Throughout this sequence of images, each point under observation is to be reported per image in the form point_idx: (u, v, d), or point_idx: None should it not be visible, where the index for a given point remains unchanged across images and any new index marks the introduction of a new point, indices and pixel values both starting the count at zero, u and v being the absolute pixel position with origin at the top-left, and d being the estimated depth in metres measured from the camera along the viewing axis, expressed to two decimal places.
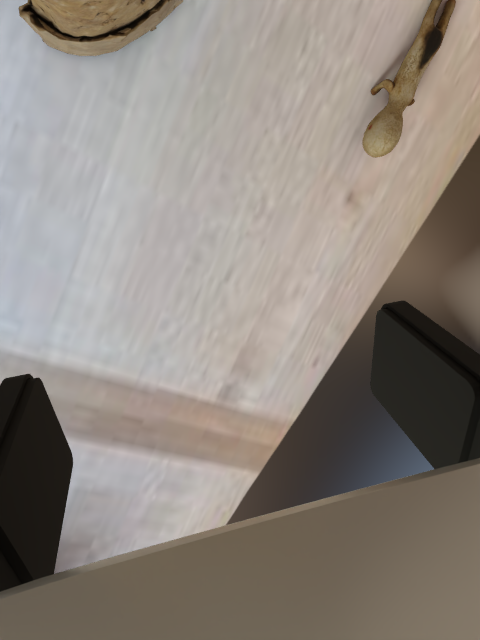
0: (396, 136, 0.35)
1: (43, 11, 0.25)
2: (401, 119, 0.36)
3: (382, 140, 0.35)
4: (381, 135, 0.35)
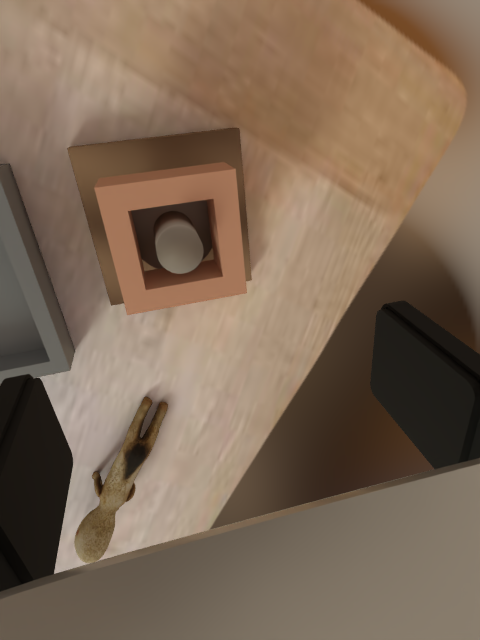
0: (96, 556, 0.33)
1: None
2: (105, 532, 0.33)
3: (82, 558, 0.33)
4: (80, 553, 0.33)
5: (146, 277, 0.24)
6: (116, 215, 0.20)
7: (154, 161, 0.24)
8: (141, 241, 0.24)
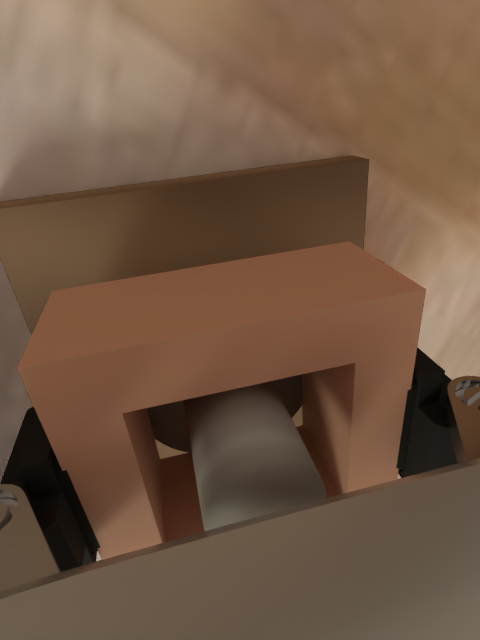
0: None
1: None
2: None
3: None
4: None
5: (165, 489, 0.11)
6: (90, 427, 0.07)
7: (184, 232, 0.11)
8: (154, 408, 0.11)
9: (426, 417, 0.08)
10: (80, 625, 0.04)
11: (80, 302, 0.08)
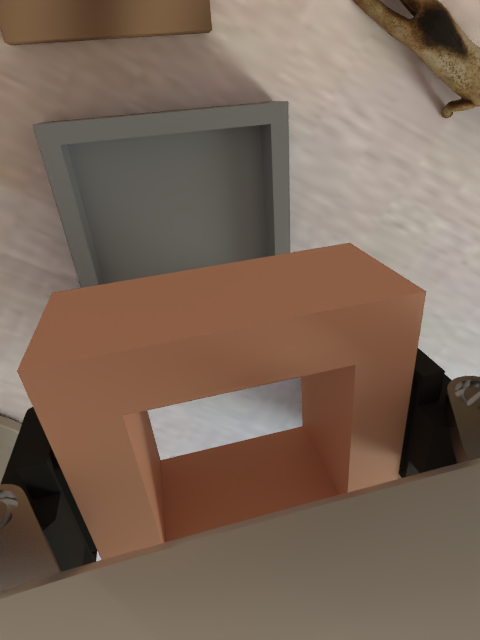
0: None
1: None
2: None
3: None
4: None
5: (166, 491, 0.11)
6: (90, 429, 0.07)
7: None
8: None
9: (426, 417, 0.08)
10: (80, 625, 0.04)
11: (80, 304, 0.08)
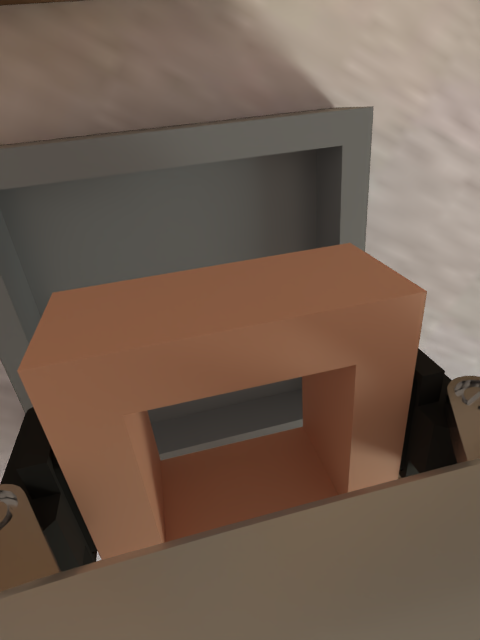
0: None
1: None
2: None
3: None
4: None
5: (166, 491, 0.11)
6: (91, 429, 0.07)
7: None
8: None
9: (426, 417, 0.08)
10: (80, 625, 0.04)
11: (81, 304, 0.08)
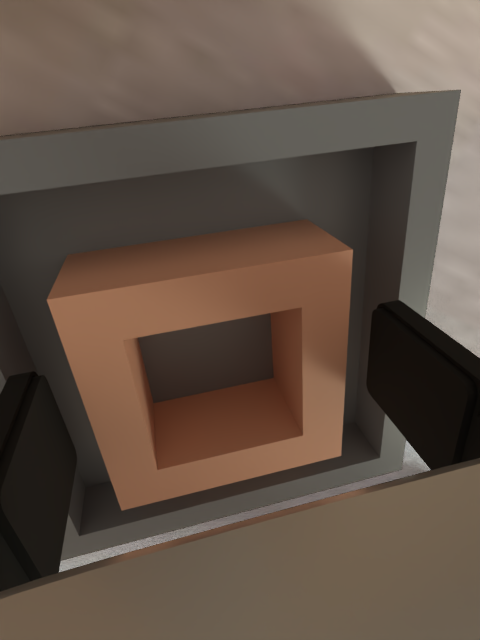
0: None
1: None
2: None
3: None
4: None
5: (157, 424, 0.13)
6: (98, 350, 0.09)
7: None
8: None
9: None
10: (80, 625, 0.04)
11: (90, 261, 0.10)
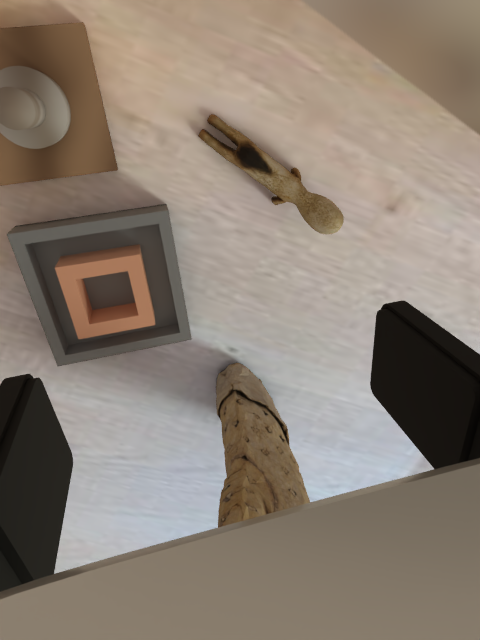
0: (332, 217, 0.35)
1: None
2: (316, 203, 0.35)
3: (331, 229, 0.36)
4: (326, 229, 0.36)
5: (92, 315, 0.38)
6: (68, 282, 0.34)
7: None
8: (41, 139, 0.29)
9: None
10: (80, 625, 0.04)
11: (67, 258, 0.35)
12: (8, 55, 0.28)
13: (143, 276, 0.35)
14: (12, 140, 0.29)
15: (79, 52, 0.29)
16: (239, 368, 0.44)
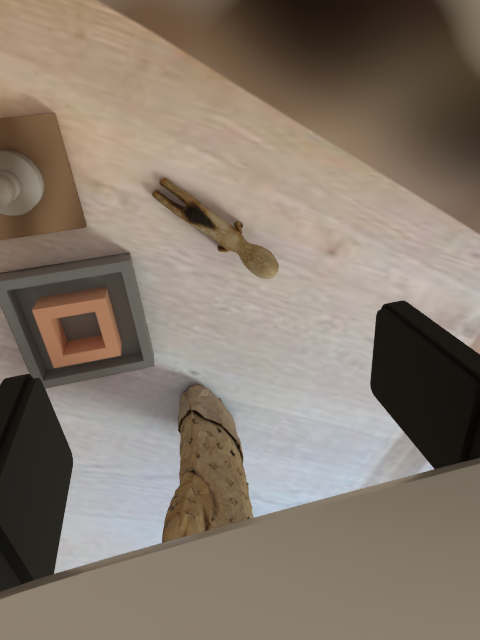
0: (267, 266, 0.41)
1: None
2: (253, 254, 0.41)
3: (267, 276, 0.42)
4: (263, 276, 0.42)
5: (66, 346, 0.44)
6: (44, 321, 0.40)
7: None
8: (19, 207, 0.35)
9: None
10: (81, 625, 0.04)
11: (43, 300, 0.41)
12: None
13: (108, 315, 0.41)
14: None
15: (50, 136, 0.35)
16: (199, 389, 0.50)
